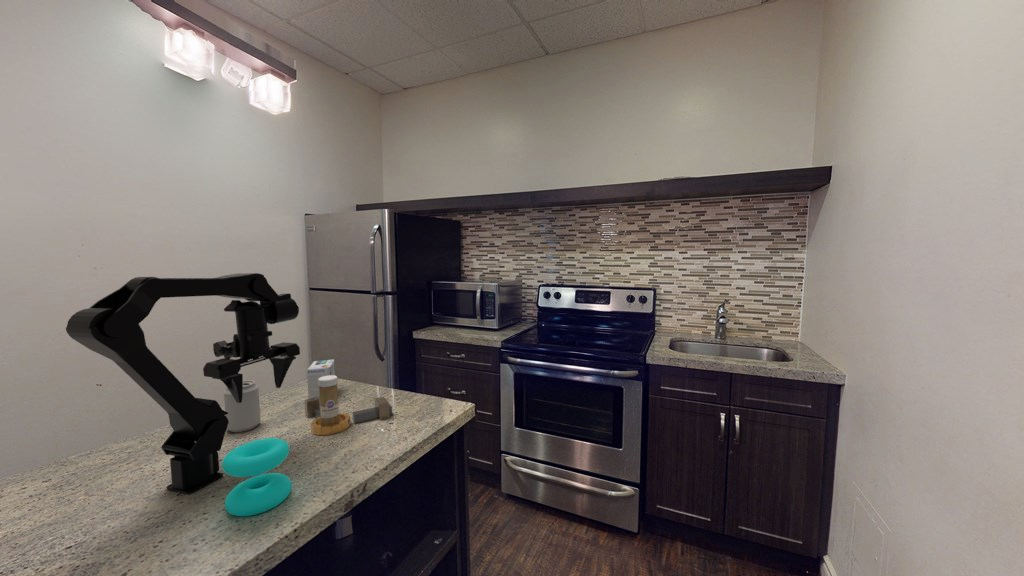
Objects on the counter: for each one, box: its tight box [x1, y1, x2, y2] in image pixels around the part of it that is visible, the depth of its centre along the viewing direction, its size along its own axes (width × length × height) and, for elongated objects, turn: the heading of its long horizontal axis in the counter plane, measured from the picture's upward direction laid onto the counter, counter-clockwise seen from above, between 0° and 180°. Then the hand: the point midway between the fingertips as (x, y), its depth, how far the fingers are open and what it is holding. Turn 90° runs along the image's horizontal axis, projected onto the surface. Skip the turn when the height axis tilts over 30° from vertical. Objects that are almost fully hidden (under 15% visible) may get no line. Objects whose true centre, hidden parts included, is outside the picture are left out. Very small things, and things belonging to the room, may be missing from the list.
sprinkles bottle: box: [318, 375, 340, 426], centre depth 99 cm, size 5×5×13 cm
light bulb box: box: [306, 359, 336, 399], centre depth 123 cm, size 11×7×11 cm, turn 18°
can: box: [223, 379, 262, 433], centre depth 100 cm, size 8×8×12 cm
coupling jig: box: [304, 396, 393, 436], centre depth 103 cm, size 17×25×4 cm
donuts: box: [221, 437, 293, 517], centre depth 68 cm, size 10×10×10 cm
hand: (259, 394), depth 87 cm, fingers open, 9 cm apart
